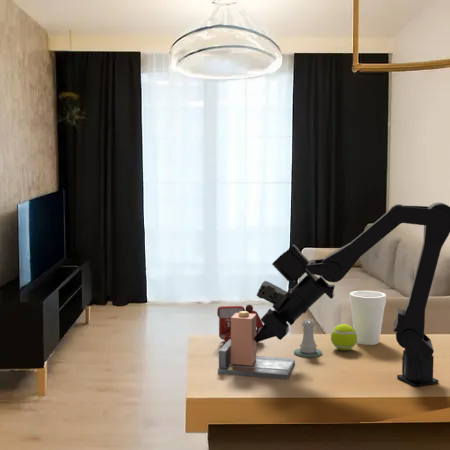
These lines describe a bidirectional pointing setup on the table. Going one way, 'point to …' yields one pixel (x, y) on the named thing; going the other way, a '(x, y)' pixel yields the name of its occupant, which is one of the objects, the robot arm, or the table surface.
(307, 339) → the rook chess piece
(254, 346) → the block
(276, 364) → the rail
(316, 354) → the round pad
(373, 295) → the foam cup
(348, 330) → the tennis ball
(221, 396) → the table surface
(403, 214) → the robot arm
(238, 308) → the toy fire truck
